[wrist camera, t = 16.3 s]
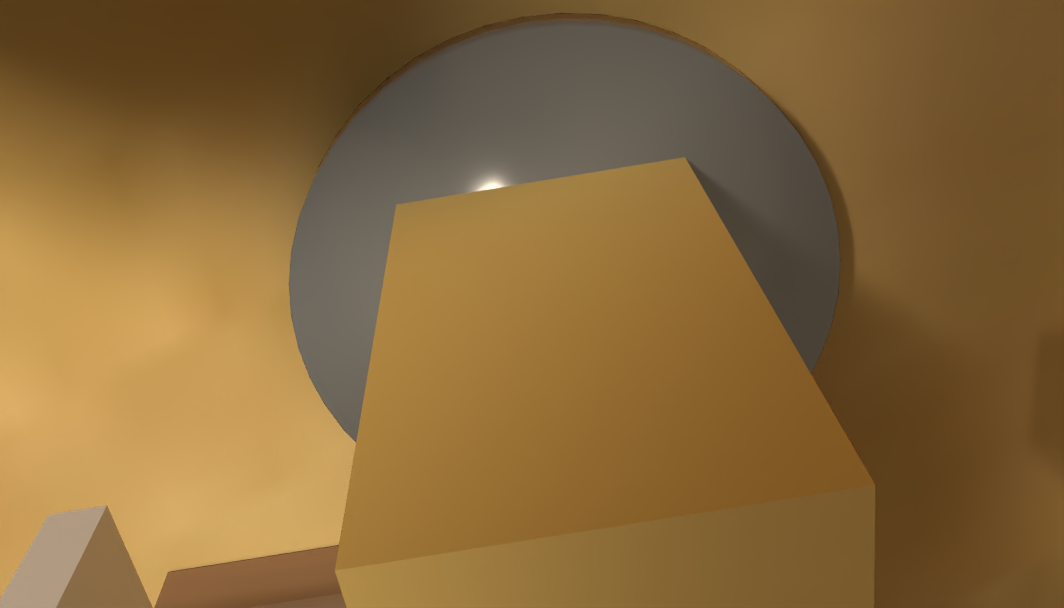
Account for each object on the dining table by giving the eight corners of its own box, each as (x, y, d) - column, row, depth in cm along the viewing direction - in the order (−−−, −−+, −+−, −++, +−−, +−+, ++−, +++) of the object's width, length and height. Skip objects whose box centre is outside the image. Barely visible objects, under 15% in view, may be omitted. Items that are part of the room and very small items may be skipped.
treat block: (396, 204, 17) (334, 570, 9) (684, 156, 17) (875, 485, 9) (450, 440, 19) (439, 896, 12) (705, 400, 19) (871, 830, 11)
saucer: (230, 65, 17) (217, 81, 16) (818, -33, 17) (838, -23, 16) (365, 522, 22) (360, 553, 21) (826, 449, 21) (842, 478, 20)
